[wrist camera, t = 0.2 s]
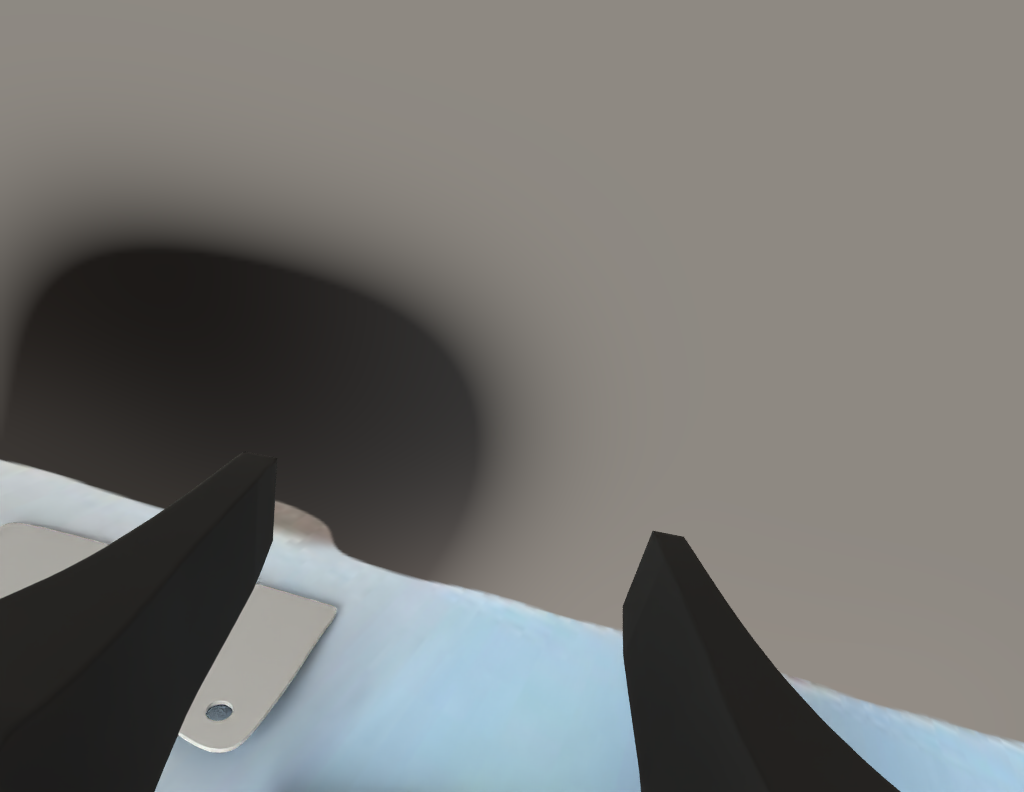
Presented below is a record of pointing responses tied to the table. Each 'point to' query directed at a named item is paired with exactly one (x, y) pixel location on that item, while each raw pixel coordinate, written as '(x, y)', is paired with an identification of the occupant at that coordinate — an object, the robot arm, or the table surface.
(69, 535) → the kitchen cleaver
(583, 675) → the table surface
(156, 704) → the robot arm
